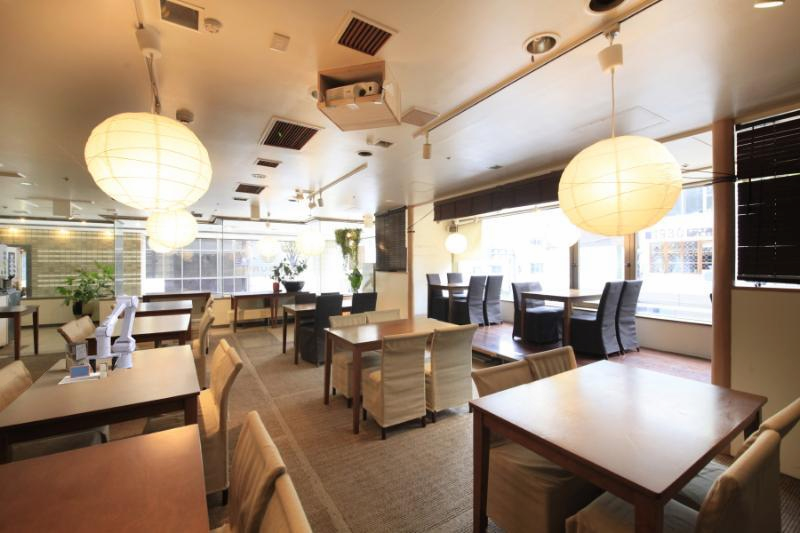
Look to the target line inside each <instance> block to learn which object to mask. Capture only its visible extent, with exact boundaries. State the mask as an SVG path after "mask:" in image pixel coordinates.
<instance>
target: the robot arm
mask: <svg viewBox="0 0 800 533" xmlns="http://www.w3.org/2000/svg"><path fill="white" fill-rule="evenodd" d="M139 301H140V299H139V297H138V296H137V295H118V296H117V297H116V298H115V300H114V303H115V306H114V307H113V309H112V310H111V311H112V312H111V313H110V315H107V316H106V317H105V318H104V320H103V321H102V323H101V325H100V326H98V327H96V328H95V329H94V332H93V335H94V337H95V341H96V355H95V354H94V355H90V356H89V355H88V357H86V361H88V365H90V368H91V369H92V371H93V372H92V373H96V372H97V366H96V365H97V360H105V359H111V372H112V371H114V370H120V369H130V368H133V366H134V362H133V360H132V359H133V356H132V353H133V352H134V351H135V349H136V339H134V337H132V333H133V327H134V322H135V317H136V316H135V315H136V310H138V308H139V303H140V302H139ZM123 311H124V314H123V315H124V316H123V321H122V325H121V331H120V336H119V337H118V338H117V339H115V341H114V343H113V346H112V351H113V352H114V353H111V336H112V335H113V334H114V329H115V326H116V324H117V323H118V321H119V318H118V317H119V316H120V315H121V313H123ZM115 365H116V367H115Z"/></svg>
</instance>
